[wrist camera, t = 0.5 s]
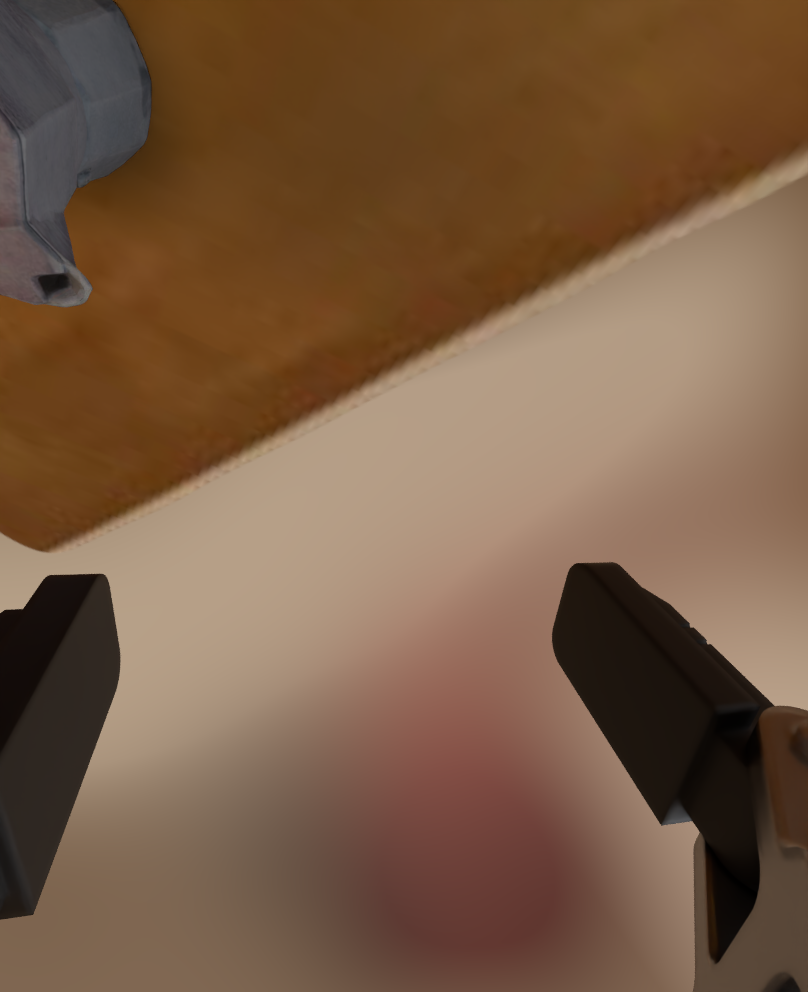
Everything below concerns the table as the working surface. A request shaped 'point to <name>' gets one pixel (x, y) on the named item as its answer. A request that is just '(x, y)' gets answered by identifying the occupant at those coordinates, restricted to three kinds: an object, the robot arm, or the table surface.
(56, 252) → the moka pot
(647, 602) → the robot arm
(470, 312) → the table surface
